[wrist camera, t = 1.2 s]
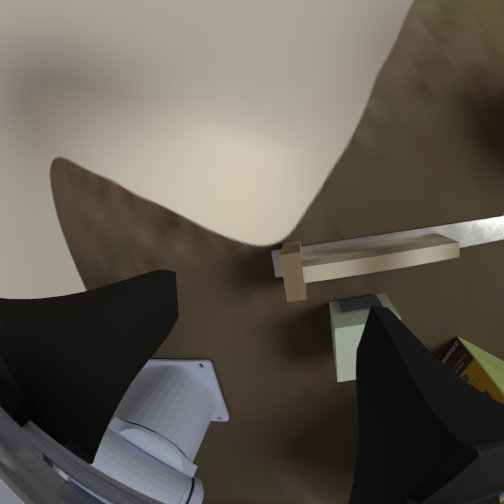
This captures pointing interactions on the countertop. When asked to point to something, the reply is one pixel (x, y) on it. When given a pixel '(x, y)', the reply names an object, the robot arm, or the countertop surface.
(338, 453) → the countertop surface
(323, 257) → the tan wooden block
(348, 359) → the marked cube
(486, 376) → the protein box
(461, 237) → the rail
